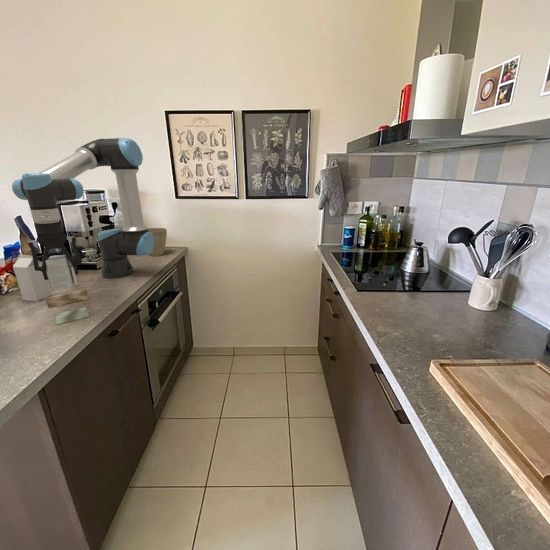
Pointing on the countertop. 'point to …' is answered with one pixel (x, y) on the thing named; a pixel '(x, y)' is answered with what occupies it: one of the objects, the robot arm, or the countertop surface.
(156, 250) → the plant pot
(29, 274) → the milk carton
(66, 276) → the small box
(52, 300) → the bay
